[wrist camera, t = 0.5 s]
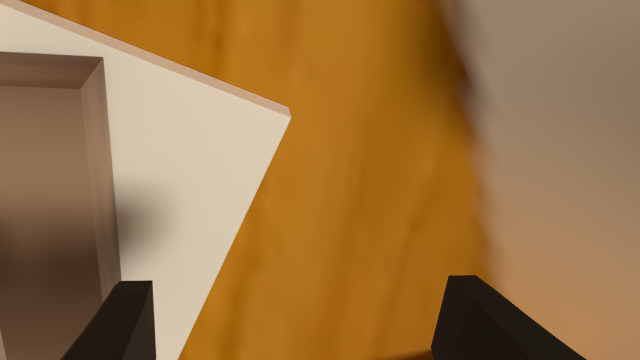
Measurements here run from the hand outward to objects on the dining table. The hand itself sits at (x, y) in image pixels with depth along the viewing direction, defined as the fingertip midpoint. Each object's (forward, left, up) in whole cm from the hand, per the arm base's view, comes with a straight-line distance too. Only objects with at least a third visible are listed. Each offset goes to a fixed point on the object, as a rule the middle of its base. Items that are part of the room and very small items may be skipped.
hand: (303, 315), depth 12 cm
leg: (-5, +5, -8) cm, 11 cm away
